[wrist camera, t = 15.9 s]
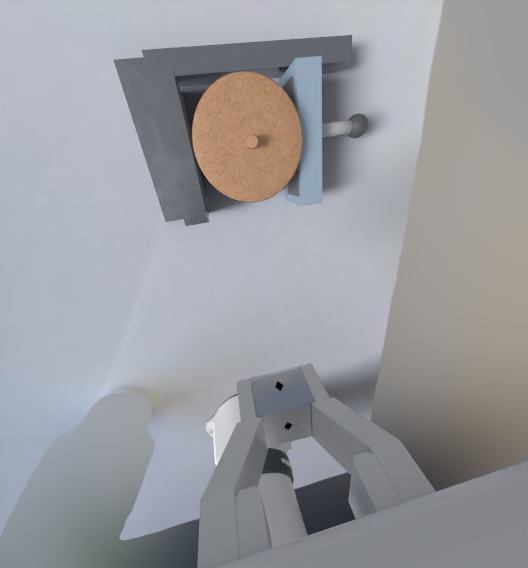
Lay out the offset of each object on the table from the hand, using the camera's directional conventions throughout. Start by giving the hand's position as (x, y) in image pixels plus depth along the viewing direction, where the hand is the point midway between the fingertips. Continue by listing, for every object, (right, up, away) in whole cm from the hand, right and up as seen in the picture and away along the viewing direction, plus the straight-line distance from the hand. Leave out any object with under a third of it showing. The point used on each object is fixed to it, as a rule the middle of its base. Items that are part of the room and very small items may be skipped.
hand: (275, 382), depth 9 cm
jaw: (+7, +22, +21) cm, 31 cm away
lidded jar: (-3, +21, +20) cm, 29 cm away
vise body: (-3, +22, +19) cm, 29 cm away
